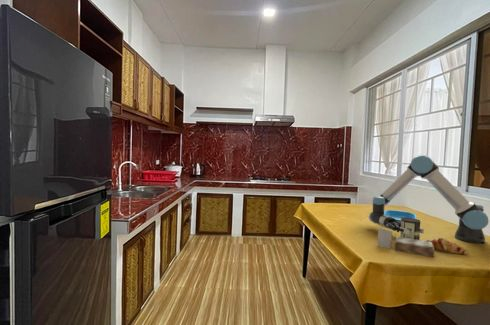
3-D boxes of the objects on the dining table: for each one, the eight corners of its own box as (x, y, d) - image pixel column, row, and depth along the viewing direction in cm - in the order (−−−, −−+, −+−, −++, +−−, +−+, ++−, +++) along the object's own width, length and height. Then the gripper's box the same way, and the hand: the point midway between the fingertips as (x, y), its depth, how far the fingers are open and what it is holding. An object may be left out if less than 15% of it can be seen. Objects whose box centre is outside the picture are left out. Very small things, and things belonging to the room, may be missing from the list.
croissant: (468, 260, 147) (469, 246, 150) (468, 256, 140) (470, 241, 143) (423, 249, 161) (424, 236, 164) (421, 245, 154) (423, 232, 157)
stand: (431, 250, 150) (432, 241, 150) (433, 257, 141) (434, 247, 141) (395, 244, 159) (395, 235, 159) (394, 250, 150) (395, 241, 150)
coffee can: (415, 240, 169) (416, 218, 168) (422, 245, 158) (423, 222, 158) (397, 238, 171) (398, 217, 170) (403, 244, 161) (404, 221, 160)
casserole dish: (416, 231, 189) (416, 221, 189) (381, 226, 201) (381, 216, 201) (415, 220, 220) (415, 212, 220) (385, 216, 232) (385, 208, 232)
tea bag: (390, 248, 152) (391, 231, 152) (377, 245, 156) (378, 229, 156) (391, 247, 155) (392, 230, 155) (378, 244, 159) (379, 227, 159)
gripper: (401, 226, 185) (430, 237, 163) (373, 228, 179) (400, 238, 158) (402, 216, 184) (431, 224, 163) (374, 217, 179) (400, 226, 157)
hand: (416, 231), depth 160 cm, fingers closed on coffee can, 10 cm apart
